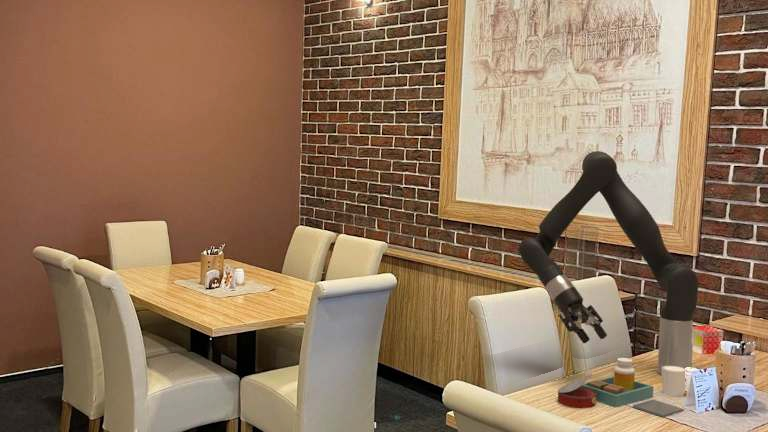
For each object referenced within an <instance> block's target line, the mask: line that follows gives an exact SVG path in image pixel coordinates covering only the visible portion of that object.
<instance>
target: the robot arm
mask: <svg viewBox="0 0 768 432" xmlns="http://www.w3.org/2000/svg"><path fill="white" fill-rule="evenodd" d="M581 166H582V167H581V169H582V174H581V175H580V177H579V179H578V180H577V182H576V183H575V184H574V186H573V187H572V188H571V189H570V191H568V193H566V195H565V196H564V197H562V198H561V199H560V200H559V201H558V202H557V203H556V204H555V205H554V206H553V207H552V209H550V211H549V212H548V213H547V214H546V215H545V217H544V218H543V219H542V221H541V222H540V224H539V226H538V229H539V232H538V234H537V236H536V237H535V238H534V237H526V238H524V239H522V240H521V241H520V243H519V245H518V253H519V256H520V258H521V259H522V260H523V262H524V263H525V265H527V267H529V269H531V271H532V272H533V273H534V274H535V275H536V276H537V277H538V279H539V281H540V282H541V284H542V285H543V286H544V288H545V290H546V292H547V293H548V295H549V297H550V298H551V300H552V301H553V302H554V304H555V306H556V307H557V309H558V310H559V312H560V314H558V317H559V318H560V320H561V322H562V323H563V325H564V326H565V327H566V329H567V331H568V332H569V333H571V332H573V333H575V334H576V335H577V337H578V338H579V340H580V341H581V343H583V344H587V343H588V342H589V341H590V336H589V335H588V334H587V333H586V330H585V329H584V328H582V324H584V325H585V326H589V327H591V328H593V331H594V332H595V333H596V335H597V336H598V337H599V339H600V340H604V339H605V338H606V337H608V334H607V332H606V331H605V329H604V328H603V326H602V325H601V323H603V321H604V320H603V318H602V317H601V316H600V314H599V313H598V312H597V311H596V309H595V307H593V305H591V304H589V305H588V306H587V307H586V306H585V305H584V304H583V303H584V298H583V297H582V294H580V292H579V291H578V289H577V288H576V286H575V285H574V283H572V281H571V280H570V279H569V277H567V275H566V274H565V273H564V271H563V270H562V269H561V266H560V265H559V264H558V263H557V262H555V261H554V260H552V258H550V257H549V256H550V254H551V253H552V252H553V251H554V249H555V246H556V244H557V242H558V241H559V238H560V237H561V236H562V235H563V233H565V231H566V230H567V229H568V228H569V226H570V224H571V223H572V222H573V221H574V220H575V218H576V217H577V216H578V215H579V213H580V212H581V211H582V210H583V208H585V206H586V205H587V204H588V203H589V202H590V201H591V200H592V199H593V198H594V197H595V196H596V195H597V194H598V193H600V195H601V196H603V198H604V200H605V201H606V203H607V205H608V208H609V209H610V211H611V213H612V214H613V216H614V218H615V220H616V222H617V223H618V226H619V227H620V228H621V230H622V232H623V233H624V235H626V237H627V238H628V240H629V241H630V242H631V244H632V245H633V246H634V248H635V249H636V251H637V252H638V253H639V254H640V255H641V256H642V258H643V260H644V261H645V262H646V263H647V265H648V266H649V268H650V271H651V272H652V274H653V276H654V278H655V280H656V282H657V283H658V285H659V287H660V288H661V289H662V290H663V291H664V292H665V293H666V298H665V299H666V301H665V304H664V305H663V306H662V307H661V308H660V312H659V314H660V315H659V333H658V351H657V352H658V354H657V357H658V359H657V373H658V374H659V375H661V376H662V370H661V367H662V366H678V367H683V368H686V367H691V368H692V365H693V363H692V361H693V351H692V348H693V344H692V326H693V322H694V321H693V319H694V314H695V311H696V310H697V309H696V308H697V305H698V303H697V302H698V295H699V293H698V292H699V280H698V275H697V273H696V272H695V271H694V270H693V269H691V268H690V267H687V266H684V265H681V264H680V263H679V262H678V261H677V260H676V259H675V258H674V256H673V255H671V253H670V252H669V250H668V249H667V247H666V245H665V242H664V240H663V236H662V234H661V229H660V228H659V226H658V225H659V224H658V223H657V222H656V220H655V219H654V217H653V215H651V212H649V210H648V208H646V206H645V205H644V204H643V202H641V200H640V198H638V197H637V195H635V194H634V193H633V191H632V190H631V189H630V188H629V187H628V186H627V184H626V183H625V182H624V180H623V179H622V177H621V175H620V174H619V172H618V165H617V162H616V161H615V159H614V158H613V157H612V156H611V155H609V154H608V153H607V152H604V151H599V150H597V151H591V152H589V153H587V154H586V155H585V156H584V158H583V160H582V164H581Z"/></svg>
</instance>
